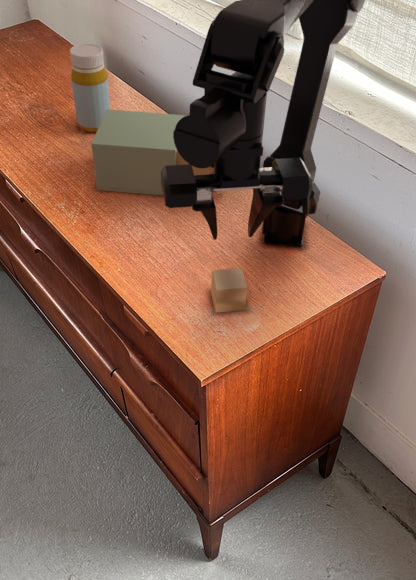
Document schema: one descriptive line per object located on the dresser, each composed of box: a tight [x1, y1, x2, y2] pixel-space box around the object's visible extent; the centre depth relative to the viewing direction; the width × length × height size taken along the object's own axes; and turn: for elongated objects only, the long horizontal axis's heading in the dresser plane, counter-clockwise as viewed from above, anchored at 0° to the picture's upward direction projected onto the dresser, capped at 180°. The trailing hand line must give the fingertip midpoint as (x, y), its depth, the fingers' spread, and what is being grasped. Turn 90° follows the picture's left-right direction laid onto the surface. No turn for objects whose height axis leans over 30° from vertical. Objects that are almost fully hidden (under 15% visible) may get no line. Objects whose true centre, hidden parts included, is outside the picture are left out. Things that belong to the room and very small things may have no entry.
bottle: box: [69, 43, 112, 134], centre depth 124 cm, size 7×7×15 cm
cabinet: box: [91, 109, 186, 196], centre depth 115 cm, size 15×13×9 cm
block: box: [210, 267, 248, 314], centre depth 94 cm, size 4×4×4 cm
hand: (232, 236), depth 86 cm, fingers open, 5 cm apart
